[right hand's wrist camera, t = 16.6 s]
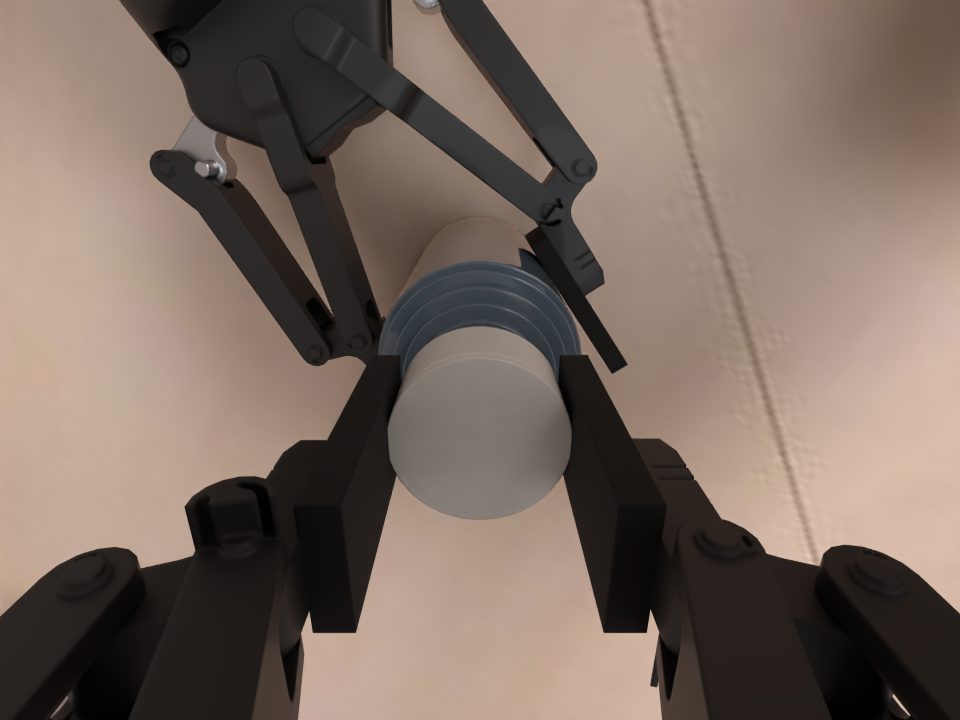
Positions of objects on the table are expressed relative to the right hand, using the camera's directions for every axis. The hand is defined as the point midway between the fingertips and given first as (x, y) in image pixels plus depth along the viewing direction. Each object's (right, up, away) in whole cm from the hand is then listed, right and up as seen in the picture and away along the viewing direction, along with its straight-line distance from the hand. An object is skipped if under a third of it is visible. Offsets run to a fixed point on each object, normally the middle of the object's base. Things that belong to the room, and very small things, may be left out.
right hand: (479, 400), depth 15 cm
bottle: (0, +6, +14) cm, 15 cm away
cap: (0, -1, -2) cm, 2 cm away
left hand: (+3, -1, +9) cm, 10 cm away
